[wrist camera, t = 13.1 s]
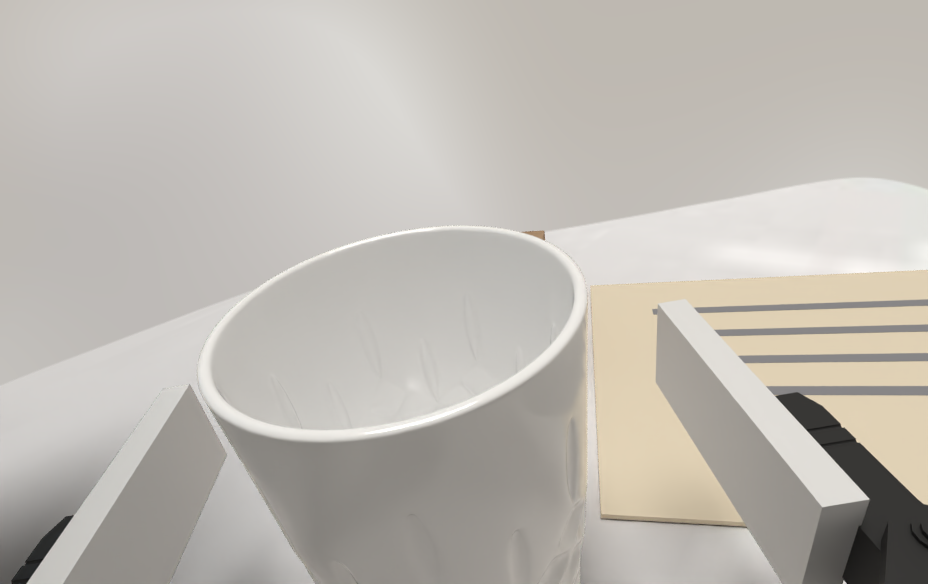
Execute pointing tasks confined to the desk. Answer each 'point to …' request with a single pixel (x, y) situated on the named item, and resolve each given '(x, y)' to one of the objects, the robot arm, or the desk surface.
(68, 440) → the desk surface
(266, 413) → the white cup
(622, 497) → the letter
